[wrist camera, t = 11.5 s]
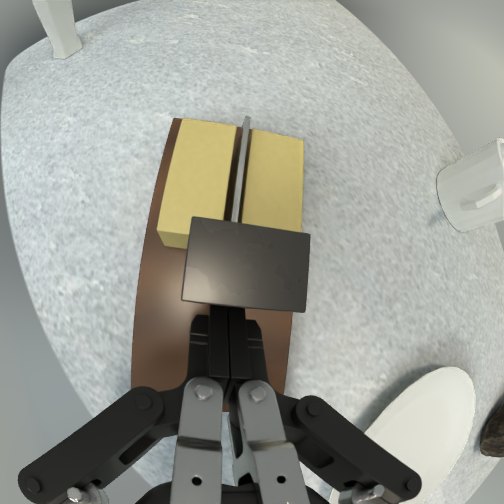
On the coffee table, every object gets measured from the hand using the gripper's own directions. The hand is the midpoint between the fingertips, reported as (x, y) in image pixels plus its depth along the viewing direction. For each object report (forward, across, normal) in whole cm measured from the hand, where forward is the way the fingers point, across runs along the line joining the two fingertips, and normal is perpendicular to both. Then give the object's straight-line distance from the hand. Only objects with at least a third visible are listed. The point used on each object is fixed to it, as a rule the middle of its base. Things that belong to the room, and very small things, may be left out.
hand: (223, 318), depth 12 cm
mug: (+14, -25, -5) cm, 29 cm away
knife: (+7, 0, -1) cm, 7 cm away
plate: (-6, -21, +15) cm, 26 cm away
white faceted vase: (+22, +21, -13) cm, 33 cm away
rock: (-8, -45, +18) cm, 49 cm away
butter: (+8, 0, -2) cm, 9 cm away
